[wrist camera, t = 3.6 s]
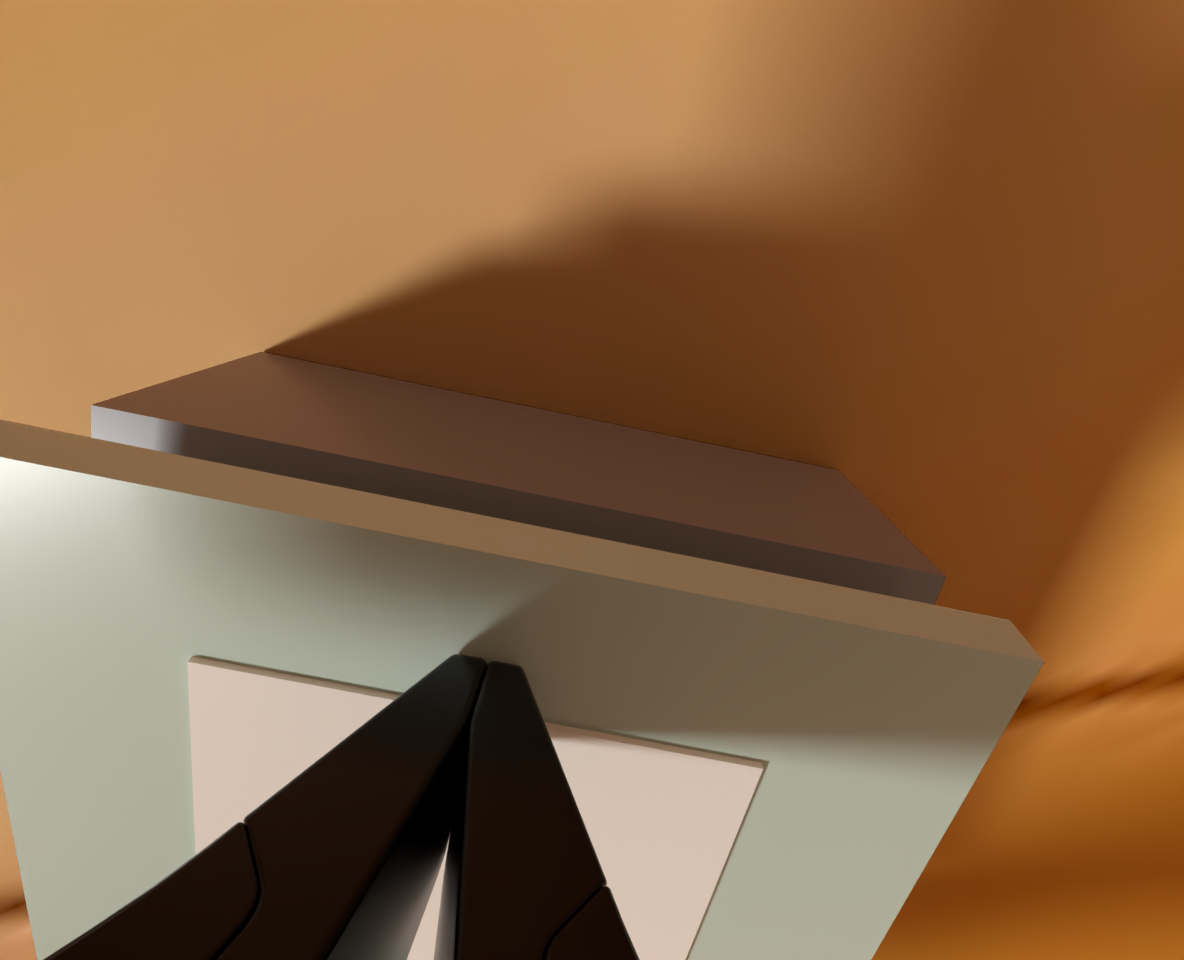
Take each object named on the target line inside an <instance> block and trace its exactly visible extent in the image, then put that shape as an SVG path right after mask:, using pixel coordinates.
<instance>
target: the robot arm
mask: <svg viewBox="0 0 1184 960" xmlns="http://www.w3.org/2000/svg"><path fill="white" fill-rule="evenodd" d="M448 842H449V844H448ZM447 845H448V850H447V855H446V862H445V869H444V876H443V884H442V893H441V901H440V910H439V919H438V927H437V936H436V944H435V953H434V960H640V959H639V957H638V955H637V952H636V950H635V948H634V945H633V943H632V941H631V938H630V936H629V934H628V932H627V929H626V927H625V925H624V922H623V920H622V917H621V915H620V912H619V910H618V907H617V905H616V902H615V899H614V897H613V894H612V892H611V889H610V888H609V887H608V886H606V885H607V880H606V877H605V875H604V872H603V870H602V867H601V865H600V862H599V860H598V857H597V855H596V852H595V849H594V847H593V844H592V842H591V839H590V837H589V834H588V832H587V829H586V827H585V824H584V822H583V819H582V816H581V814H580V811H579V809H578V806H577V804H576V801H575V799H574V796H573V794H572V791H571V788H570V786H569V783H568V781H567V778H566V776H565V773H564V771H563V768H562V766H561V763H560V760H559V758H558V755H557V753H556V750H555V748H554V745H553V743H552V740H551V738H550V735H549V733H548V730H547V727H546V725H545V722H544V720H543V717H542V715H541V712H540V710H539V707H538V705H537V702H536V699H535V697H534V694H533V692H532V689H531V687H530V684H529V682H528V679H527V677H526V674H525V672H524V670H523V668H522V667H521V666H519V665H514V664H509V663H503V662H498V661H491V662H489V664H488V665H487V663H486V661H485V660H484V659H482V658H476V657H471V656H466V655H460V654H454V655H451V656H450V657H449V658H447V659H446V660H445V661H443V662H442V663H441V664H440V665H438V666H437V667H436V668H435V669H433V670H432V671H431V672H429V673H428V674H427V675H426V676H424V677H423V678H422V679H421V680H419V681H418V682H417V683H415V684H414V685H413V686H412V687H410V688H409V689H408V690H406V691H405V692H404V693H403V694H401V695H400V696H399V697H398V698H396V699H395V700H394V701H392V702H391V703H390V704H389V705H387V706H386V707H385V708H384V709H382V710H381V711H380V712H378V713H377V714H376V715H375V716H373V717H372V718H371V719H369V720H368V721H367V722H366V723H364V724H363V725H362V726H361V727H359V728H358V729H357V730H355V731H354V732H353V733H352V734H350V735H349V736H348V737H346V738H345V739H344V740H343V741H341V742H340V743H339V744H338V745H336V746H335V747H334V748H332V749H331V750H330V751H329V752H327V753H326V754H325V755H324V756H322V757H321V758H320V759H318V760H317V761H316V762H315V763H313V764H312V765H311V766H309V767H308V768H307V769H306V770H304V771H303V772H302V773H301V774H299V775H298V776H297V777H295V778H294V779H293V780H292V781H290V782H289V783H288V784H287V785H285V786H284V787H283V788H281V789H280V790H279V791H278V792H276V793H275V794H274V795H272V796H271V797H270V798H269V799H267V800H266V801H265V802H264V803H262V804H261V805H260V806H258V807H257V808H256V809H255V810H253V811H252V812H251V813H249V814H248V815H247V816H246V817H245V818H244V821H243V823H242V822H238V823H236V824H235V825H234V826H232V827H231V828H230V829H229V830H227V831H226V832H225V833H223V834H222V835H221V836H220V837H218V838H217V839H216V840H214V841H213V842H212V843H211V844H209V845H208V846H207V847H205V848H204V849H203V850H201V851H200V852H199V853H197V854H196V855H195V856H193V857H192V858H191V859H189V860H188V861H187V862H185V863H184V864H183V865H181V866H180V867H179V868H177V869H176V870H175V871H173V872H172V873H171V874H169V875H168V876H166V877H165V878H164V879H162V880H161V881H160V882H158V883H157V884H156V885H154V886H153V887H151V888H150V889H148V890H147V891H145V892H144V893H143V894H141V895H140V896H138V897H137V898H135V899H134V900H132V901H131V902H129V903H128V904H126V905H125V906H123V907H122V908H120V909H119V910H117V911H116V912H114V913H113V914H111V915H110V916H108V917H107V918H106V919H104V920H103V921H101V922H100V923H98V924H97V925H95V926H94V927H92V928H91V929H89V930H88V931H86V932H85V933H83V934H82V935H80V936H78V937H77V938H75V939H74V940H72V941H71V942H69V943H68V944H66V945H65V946H63V947H61V948H60V949H58V950H57V951H55V952H54V953H52V954H51V955H49V956H48V957H46V958H44V959H43V960H407V957H408V955H409V952H410V949H411V947H412V944H413V941H414V939H415V936H416V933H417V930H418V928H419V925H420V922H421V920H422V917H423V914H424V912H425V909H426V906H427V903H428V901H429V898H430V895H431V893H432V890H433V887H434V885H435V882H436V879H437V877H438V874H439V871H440V868H441V865H442V862H443V859H444V856H445V852H446V849H447Z"/></svg>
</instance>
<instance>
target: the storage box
mask: <svg viewBox="0 0 1184 960" xmlns="http://www.w3.org/2000/svg"><path fill="white" fill-rule="evenodd" d="M91 438H95V439H101V440H106V441H111V442H116V443H121V444H126V445H131V446H136V447H141V448H146V449H151V450H156V451H161V452H166V453H171V454H176V455H181V456H186V457H191V458H196V459H201V460H206V461H211V462H217V463H222V464H227V465H232V466H237V467H242V468H247V469H252V470H257V471H262V472H267V473H272V474H277V475H282V476H287V477H292V478H297V479H302V480H307V481H312V482H317V483H322V484H327V485H333V486H338V487H343V488H348V489H353V490H358V491H363V492H368V493H373V494H378V495H383V496H388V497H393V498H398V499H403V500H408V501H413V502H418V503H423V504H428V505H433V506H438V507H443V508H449V509H454V510H459V511H464V512H469V513H474V514H479V515H484V516H489V517H494V518H499V519H504V520H509V521H514V522H519V523H524V524H529V525H534V526H539V527H544V528H549V529H554V530H559V531H565V532H570V533H575V534H580V535H585V536H590V537H595V538H600V539H605V540H610V541H615V542H620V543H625V544H630V545H635V546H640V547H645V548H650V549H655V550H660V551H665V552H670V553H675V554H680V555H686V556H691V557H696V558H701V559H706V560H711V561H716V562H721V563H726V564H731V565H736V566H741V567H746V568H751V569H756V570H761V571H766V572H771V573H776V574H781V575H786V576H791V577H796V578H802V579H807V580H812V581H817V582H822V583H827V584H832V585H837V586H842V587H847V588H852V589H857V590H862V591H867V592H872V593H877V594H882V595H887V596H892V597H897V598H902V599H907V600H912V601H918V602H923V603H928V604H933V605H935V603H936V600H937V598H938V595H939V593H940V590H941V588H942V585H943V583H944V580H945V578H946V576H945V575H944V574H943V573H942V572H941V571H940V570H939V569H938V568H937V567H936V566H935V565H934V564H933V563H932V562H931V561H930V560H929V559H928V558H927V557H926V556H925V555H924V554H923V553H922V552H921V551H920V550H919V549H918V548H917V547H916V546H915V545H914V544H913V543H912V542H911V541H910V540H909V539H908V538H907V537H906V536H905V535H904V534H903V533H902V532H901V531H900V530H899V529H898V528H897V527H896V526H895V525H894V524H893V523H892V522H891V521H890V520H889V519H888V518H887V517H886V516H885V515H884V514H883V513H882V512H881V511H880V510H878V509H877V508H876V507H875V506H874V505H873V504H872V503H871V502H870V501H869V500H868V499H867V498H866V497H865V496H864V495H863V494H862V493H861V492H860V491H859V490H858V489H857V488H856V487H855V486H854V485H853V484H852V483H851V482H850V481H849V480H848V479H847V478H846V477H845V476H844V475H843V474H842V473H841V472H840V471H839V470H835V469H830V468H825V467H820V466H815V465H810V464H805V463H801V462H796V461H791V460H786V459H781V458H776V457H771V456H767V455H762V454H757V453H752V452H747V451H742V450H737V449H732V448H728V447H723V446H718V445H713V444H708V443H703V442H698V441H694V440H689V439H684V438H679V437H674V436H669V435H664V434H659V433H655V432H650V431H645V430H640V429H635V428H630V427H625V426H621V425H616V424H611V423H606V422H601V421H596V420H591V419H586V418H582V417H577V416H572V415H567V414H562V413H557V412H552V411H547V410H543V409H538V408H533V407H528V406H523V405H518V404H513V403H509V402H504V401H499V400H494V399H489V398H484V397H479V396H474V395H470V394H465V393H460V392H455V391H450V390H445V389H440V388H436V387H431V386H426V385H421V384H416V383H411V382H406V381H401V380H397V379H392V378H387V377H382V376H377V375H372V374H367V373H363V372H358V371H353V370H348V369H343V368H338V367H333V366H328V365H324V364H319V363H314V362H309V361H304V360H299V359H294V358H290V357H285V356H280V355H275V354H270V353H265V352H259V353H255V354H252V355H249V356H246V357H243V358H240V359H236V360H233V361H230V362H227V363H224V364H220V365H217V366H214V367H211V368H208V369H204V370H201V371H198V372H195V373H192V374H188V375H185V376H182V377H179V378H176V379H172V380H169V381H166V382H163V383H160V384H156V385H153V386H150V387H147V388H144V389H140V390H137V391H134V392H131V393H128V394H124V395H121V396H118V397H115V398H112V399H109V400H105V401H102V402H99V403H96V404H93V405H91Z"/></svg>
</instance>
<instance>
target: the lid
mask: <svg viewBox="0 0 1184 960" xmlns="http://www.w3.org/2000/svg"><path fill="white" fill-rule="evenodd" d="M454 654H460V655H466V656H471V657H476V658H482V659H484V660H485V661H486V663H487V665H488V664H489V662H491V661H498V662H503V663H509V664H514V665H519V666H521V667H522V668H523V670H524V672H525V674H526V677H527V679H528V682H529V684H530V687H531V689H532V692H533V694H534V697H535V699H536V702H537V705H538V707H539V710H540V712H541V715H542V717H543V720H544V722H545V725H546V727H547V730H548V733H549V735H550V738H551V740H552V743H553V745H554V748H555V750H556V753H557V755H558V758H559V760H560V763H561V766H562V768H563V771H564V773H565V776H566V778H567V781H568V783H569V786H570V788H571V791H572V794H573V796H574V799H575V801H576V804H577V806H578V809H579V811H580V814H581V816H582V819H583V822H584V824H585V827H586V829H587V832H588V834H589V837H590V839H591V842H592V844H593V847H594V849H595V852H596V855H597V857H598V860H599V862H600V865H601V867H602V870H603V872H604V875H605V877H606V880H607V885H606V886H608V887H609V888H610V889H611V892H612V894H613V897H614V899H615V902H616V905H617V907H618V910H619V912H620V915H621V917H622V920H623V922H624V925H625V927H626V929H627V932H628V934H629V936H630V938H631V941H632V943H633V945H634V948H635V950H636V952H637V955H638V957H639V959H640V960H871V959H872V957H873V956H874V954H875V952H876V951H877V949H878V947H879V945H880V944H881V942H882V940H883V939H884V937H885V935H886V933H887V932H888V930H889V928H890V926H891V925H892V923H893V921H894V920H895V918H896V916H897V914H898V913H899V911H900V909H901V908H902V906H903V904H904V902H905V901H906V899H907V897H908V896H909V894H910V892H911V890H912V889H913V887H914V885H915V883H916V882H917V880H918V878H919V877H920V875H921V873H922V871H923V870H924V868H925V866H926V865H927V863H928V861H929V859H930V858H931V856H932V854H933V852H934V851H935V849H936V847H937V846H938V844H939V842H940V840H941V839H942V837H943V835H944V834H945V832H946V830H947V828H948V827H949V825H950V823H951V821H952V820H953V818H954V816H955V815H956V813H957V811H958V809H959V808H960V806H961V804H962V803H963V801H964V799H965V797H966V796H967V794H968V792H969V790H970V789H971V787H972V785H973V784H974V782H975V780H976V778H977V777H978V775H979V773H980V772H981V770H982V768H983V766H984V765H985V763H986V761H987V760H988V758H989V756H990V754H991V753H992V751H993V749H994V747H995V746H996V744H997V742H998V741H999V739H1000V737H1001V735H1002V734H1003V732H1004V730H1005V729H1006V727H1007V725H1008V723H1009V722H1010V720H1011V718H1012V716H1013V715H1014V713H1015V711H1016V710H1017V708H1018V706H1019V704H1020V703H1021V701H1022V699H1023V698H1024V696H1025V694H1026V692H1027V691H1028V689H1029V687H1030V685H1031V684H1032V682H1033V680H1034V679H1035V677H1036V675H1037V673H1038V672H1039V670H1040V668H1041V667H1042V665H1043V663H1044V661H1043V660H1042V658H1041V657H1040V656H1039V655H1038V654H1037V652H1036V651H1035V650H1034V649H1033V647H1032V646H1031V645H1030V644H1029V643H1028V641H1027V640H1026V639H1025V638H1024V637H1023V635H1022V634H1021V633H1020V632H1019V630H1018V629H1017V628H1016V627H1015V626H1014V624H1013V623H1012V622H1011V621H1010V620H1008V619H1003V618H998V617H993V616H988V615H983V614H978V613H973V612H968V611H963V610H958V609H953V608H948V607H943V606H938V605H933V604H928V603H923V602H918V601H912V600H907V599H902V598H897V597H892V596H887V595H882V594H877V593H872V592H867V591H862V590H857V589H852V588H847V587H842V586H837V585H832V584H827V583H822V582H817V581H812V580H807V579H802V578H796V577H791V576H786V575H781V574H776V573H771V572H766V571H761V570H756V569H751V568H746V567H741V566H736V565H731V564H726V563H721V562H716V561H711V560H706V559H701V558H696V557H691V556H686V555H680V554H675V553H670V552H665V551H660V550H655V549H650V548H645V547H640V546H635V545H630V544H625V543H620V542H615V541H610V540H605V539H600V538H595V537H590V536H585V535H580V534H575V533H570V532H565V531H559V530H554V529H549V528H544V527H539V526H534V525H529V524H524V523H519V522H514V521H509V520H504V519H499V518H494V517H489V516H484V515H479V514H474V513H469V512H464V511H459V510H454V509H449V508H443V507H438V506H433V505H428V504H423V503H418V502H413V501H408V500H403V499H398V498H393V497H388V496H383V495H378V494H373V493H368V492H363V491H358V490H353V489H348V488H343V487H338V486H333V485H327V484H322V483H317V482H312V481H307V480H302V479H297V478H292V477H287V476H282V475H277V474H272V473H267V472H262V471H257V470H252V469H247V468H242V467H237V466H232V465H227V464H222V463H217V462H211V461H206V460H201V459H196V458H191V457H186V456H181V455H176V454H171V453H166V452H161V451H156V450H151V449H146V448H141V447H136V446H131V445H126V444H121V443H116V442H111V441H106V440H101V439H95V438H90V437H85V436H80V435H75V434H70V433H65V432H60V431H55V430H50V429H45V428H40V427H35V426H30V425H25V424H20V423H15V422H10V421H5V420H0V771H1V777H2V782H3V787H4V792H5V797H6V802H7V807H8V813H9V818H10V823H11V828H12V833H13V838H14V843H15V848H16V854H17V859H18V864H19V869H20V874H21V879H22V884H23V889H24V895H25V900H26V905H27V910H28V915H29V920H30V925H31V931H32V936H33V941H34V946H35V951H36V956H37V960H43V959H44V958H46V957H48V956H49V955H51V954H52V953H54V952H55V951H57V950H58V949H60V948H61V947H63V946H65V945H66V944H68V943H69V942H71V941H72V940H74V939H75V938H77V937H78V936H80V935H82V934H83V933H85V932H86V931H88V930H89V929H91V928H92V927H94V926H95V925H97V924H98V923H100V922H101V921H103V920H104V919H106V918H107V917H108V916H110V915H111V914H113V913H114V912H116V911H117V910H119V909H120V908H122V907H123V906H125V905H126V904H128V903H129V902H131V901H132V900H134V899H135V898H137V897H138V896H140V895H141V894H143V893H144V892H145V891H147V890H148V889H150V888H151V887H153V886H154V885H156V884H157V883H158V882H160V881H161V880H162V879H164V878H165V877H166V876H168V875H169V874H171V873H172V872H173V871H175V870H176V869H177V868H179V867H180V866H181V865H183V864H184V863H185V862H187V861H188V860H189V859H191V858H192V857H193V856H195V855H196V854H197V853H199V852H200V851H201V850H203V849H204V848H205V847H207V846H208V845H209V844H211V843H212V842H213V841H214V840H216V839H217V838H218V837H220V836H221V835H222V834H223V833H225V832H226V831H227V830H229V829H230V828H231V827H232V826H234V825H235V824H236V823H238V822H242V823H243V821H244V818H245V817H246V816H247V815H248V814H249V813H251V812H252V811H253V810H255V809H256V808H257V807H258V806H260V805H261V804H262V803H264V802H265V801H266V800H267V799H269V798H270V797H271V796H272V795H274V794H275V793H276V792H278V791H279V790H280V789H281V788H283V787H284V786H285V785H287V784H288V783H289V782H290V781H292V780H293V779H294V778H295V777H297V776H298V775H299V774H301V773H302V772H303V771H304V770H306V769H307V768H308V767H309V766H311V765H312V764H313V763H315V762H316V761H317V760H318V759H320V758H321V757H322V756H324V755H325V754H326V753H327V752H329V751H330V750H331V749H332V748H334V747H335V746H336V745H338V744H339V743H340V742H341V741H343V740H344V739H345V738H346V737H348V736H349V735H350V734H352V733H353V732H354V731H355V730H357V729H358V728H359V727H361V726H362V725H363V724H364V723H366V722H367V721H368V720H369V719H371V718H372V717H373V716H375V715H376V714H377V713H378V712H380V711H381V710H382V709H384V708H385V707H386V706H387V705H389V704H390V703H391V702H392V701H394V700H395V699H396V698H398V697H399V696H400V695H401V694H403V693H404V692H405V691H406V690H408V689H409V688H410V687H412V686H413V685H414V684H415V683H417V682H418V681H419V680H421V679H422V678H423V677H424V676H426V675H427V674H428V673H429V672H431V671H432V670H433V669H435V668H436V667H437V666H438V665H440V664H441V663H442V662H443V661H445V660H446V659H447V658H449V657H450V656H451V655H454ZM448 844H449V842H448ZM447 850H448V845H447V849H446V852H445V856H444V859H443V862H442V865H441V868H440V871H439V874H438V877H437V879H436V882H435V885H434V887H433V890H432V893H431V895H430V898H429V901H428V903H427V906H426V909H425V912H424V914H423V917H422V920H421V922H420V925H419V928H418V930H417V933H416V936H415V939H414V941H413V944H412V947H411V949H410V952H409V955H408V957H407V960H434V953H435V944H436V936H437V927H438V919H439V910H440V901H441V893H442V884H443V876H444V869H445V862H446V855H447Z"/></svg>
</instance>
